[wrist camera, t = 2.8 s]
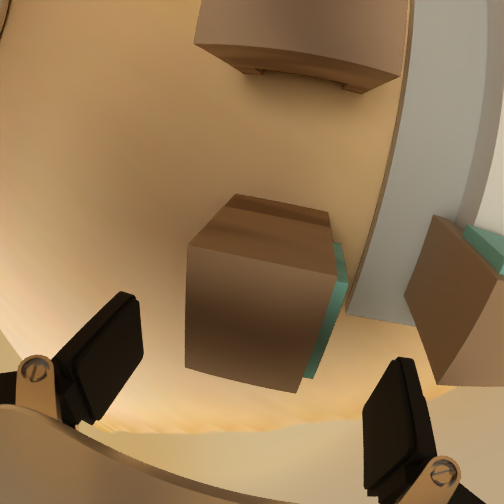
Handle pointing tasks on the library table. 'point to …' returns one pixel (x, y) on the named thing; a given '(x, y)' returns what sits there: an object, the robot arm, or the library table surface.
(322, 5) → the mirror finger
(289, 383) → the block
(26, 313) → the library table surface
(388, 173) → the rail board
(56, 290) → the library table surface
